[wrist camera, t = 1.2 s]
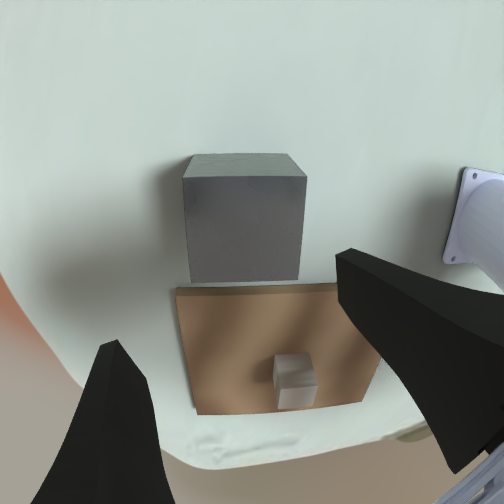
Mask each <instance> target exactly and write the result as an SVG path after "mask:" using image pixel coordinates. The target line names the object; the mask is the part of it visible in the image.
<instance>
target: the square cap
mask: <svg viewBox="0 0 504 504" xmlns="http://www.w3.org/2000/svg"><path fill="white" fill-rule="evenodd" d="M306 185H307V176H306V174H305V173H304V172H303V171H302V170H301V169H300V168H299V166H298V165H297V164H296V163H295V162H294V161H293V160H292V159H291V157H290V156H289V155H288V154H268V153H237V154H197V155H194V156H193V157H192V159H191V161H190V163H189V165H188V167H187V169H186V171H185V173H184V175H183V194H184V209H185V222H186V234H187V246H188V257H189V267H190V277H191V283H211V282H252V281H283V280H298V274H299V264H300V254H301V244H302V234H303V222H304V211H305V198H306Z"/></svg>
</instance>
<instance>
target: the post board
mask: <svg viewBox="0 0 504 504" xmlns="http://www.w3.org/2000/svg"><path fill="white" fill-rule="evenodd" d="M175 299H176V306H177V312H178V318H179V324H180V330H181V336H182V342H183V347H184V352H185V358H186V363H187V368H188V373H189V378H190V383H191V388H192V393H193V397H194V402H195V406H196V411H197V415H239V414H260V413H275V412H287V411H297V410H306V409H315V408H323V407H330V406H337V405H344V404H350V403H356V402H362V400H363V398H364V396H365V393H366V391H367V389H368V387H369V385H370V382H371V380H372V378H373V375H374V373H375V371H376V368H377V366H378V364H379V361H380V359H381V356H380V354H379V353H378V352H377V351H376V350H375V349H374V348H373V347H372V345H371V344H370V343H369V342H368V341H367V340H366V339H365V337H364V336H363V335H362V334H361V333H360V332H359V331H358V329H357V328H356V327H355V326H354V325H353V323H352V322H351V320H350V319H349V317H348V316H347V315H346V313H345V311H344V310H343V308H342V307H341V305H340V304H339V302H338V291H337V283H324V284H302V285H276V286H245V287H201V288H177V289H176V294H175Z"/></svg>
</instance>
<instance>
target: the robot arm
mask: <svg viewBox="0 0 504 504" xmlns="http://www.w3.org/2000/svg"><path fill="white" fill-rule="evenodd" d="M473 174H474V176H473ZM335 257H336V272H337V291H338V302H339V304H340V305H341V307H342V308H343V310H344V311H345V313H346V315H347V316H348V317H349V319H350V320H351V322H352V323H353V325H354V326H355V327H356V328H357V329H358V331H359V332H360V333H361V334H362V335H363V336H364V337H365V339H366V340H367V341H368V342H369V343H370V344H371V345H372V347H373V348H374V349H375V350H376V351H377V352H378V353H379V354H380V356H381V357H382V358H383V359H384V360H385V361H386V362H387V364H388V365H389V366H390V367H391V368H392V369H393V371H394V372H395V373H396V375H397V376H398V377H399V378H400V380H401V381H402V383H403V384H404V386H405V387H406V389H407V390H408V392H409V393H410V395H411V396H412V398H413V400H414V401H415V403H416V404H417V406H418V408H419V409H420V411H421V413H422V414H423V416H424V418H425V419H426V421H427V423H428V425H429V427H430V429H431V431H432V432H433V434H434V436H435V438H436V440H437V442H438V444H439V446H440V448H441V451H442V453H443V455H444V457H445V459H446V462H447V464H448V467H449V468H450V469H451V471H452V472H453V473H454V474H457V473H458V472H459V471H460V470H462V469H463V468H464V467H465V466H467V465H468V464H469V463H470V462H471V461H472V460H474V459H475V458H476V457H477V456H478V455H479V454H480V453H482V452H483V451H484V450H486V452H487V453H488V454H489V456H488V457H487V458H486V459H485V460H484V461H483V462H482V463H481V464H479V465H478V466H477V467H476V468H475V469H474V470H473V471H472V472H470V473H469V474H468V475H467V476H466V477H465V478H463V479H462V480H461V481H460V482H459V483H458V484H456V485H455V486H454V487H453V488H451V489H450V490H449V491H448V492H446V493H445V494H444V495H442V496H441V497H440V498H439V499H437V500H436V501H434V502H433V503H432V504H465V503H466V502H467V501H468V500H469V499H471V498H472V497H473V496H474V495H475V494H476V493H477V492H479V491H480V490H481V489H482V488H483V487H484V492H482V493H481V494H479V495H478V496H476V497H475V498H473V499H471V500H470V501H469V502H467V503H466V504H504V295H500V294H494V293H489V292H483V291H478V290H473V289H469V288H465V287H461V286H457V285H453V284H450V283H446V282H443V281H440V280H437V279H434V278H431V277H427V276H424V275H422V274H419V273H416V272H413V271H411V270H408V269H405V268H403V267H400V266H397V265H395V264H392V263H390V262H387V261H385V260H382V259H380V258H377V257H374V256H372V255H369V254H367V253H364V252H361V251H358V250H355V249H352V248H350V249H348V250H345V251H343V252H341V253H338V254H336V255H335ZM452 257H453V258H452ZM442 260H443V262H444V263H445V264H459V263H475V264H476V265H477V266H478V267H479V268H480V269H481V270H482V271H483V272H484V273H485V274H486V275H487V276H488V277H489V278H490V279H492V280H493V281H494V282H495V283H496V284H497V285H498V286H499V288H500V289H501V290H502V291H503V292H504V174H500V173H495V172H490V171H485V170H480V169H474V168H466V169H465V170H464V173H463V177H462V182H461V187H460V192H459V197H458V201H457V206H456V210H455V214H454V218H453V222H452V226H451V230H450V233H449V237H448V241H447V244H446V248H445V251H444V254H443V258H442ZM31 504H175V501H174V499H173V496H172V493H171V490H170V487H169V484H168V481H167V478H166V474H165V471H164V467H163V461H162V456H161V451H160V445H159V439H158V433H157V427H156V420H155V414H154V407H153V403H152V399H151V395H150V391H149V388H148V384H147V380H146V377H145V376H144V375H143V374H142V372H141V371H140V370H139V368H138V367H137V366H136V364H135V363H134V362H133V360H132V359H131V358H130V356H129V355H128V354H127V352H126V351H125V350H124V348H123V347H122V345H121V344H120V343H119V341H118V340H114V341H111V342H108V343H105V344H103V345H100V348H99V350H98V352H97V355H96V358H95V360H94V363H93V366H92V368H91V371H90V374H89V377H88V380H87V382H86V385H85V388H84V390H83V393H82V396H81V399H80V402H79V404H78V407H77V409H76V412H75V414H74V417H73V419H72V422H71V425H70V427H69V430H68V432H67V435H66V437H65V439H64V442H63V444H62V446H61V448H60V450H59V453H58V455H57V457H56V459H55V461H54V463H53V465H52V467H51V469H50V471H49V472H48V474H47V476H46V478H45V480H44V482H43V483H42V486H41V487H40V489H39V491H38V492H37V494H36V496H35V497H34V499H33V501H32V502H31Z"/></svg>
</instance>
